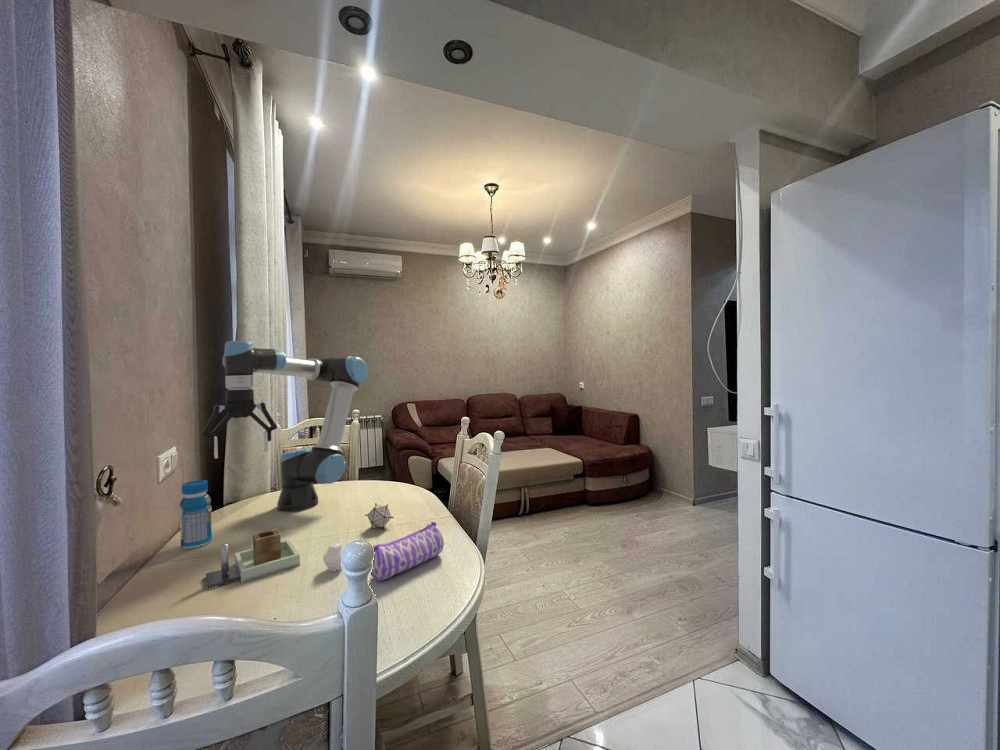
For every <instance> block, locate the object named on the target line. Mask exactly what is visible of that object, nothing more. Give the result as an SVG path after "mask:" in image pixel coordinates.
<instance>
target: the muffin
mask: <svg viewBox="0 0 1000 750" xmlns="http://www.w3.org/2000/svg"><path fill="white" fill-rule="evenodd" d="M342 546H343V545H342V544H341V543H333V544H331V545H329V546H328V547H327V551H326V552H325V553H324V555H323V557H322V560H323V562H324V565H325V566H326V567H327V569H328V571H329V572H337V571H336V570H338V571H340V570H341V569H342V568H341V552H342V550H343V549H344V548H343V547H342Z"/></svg>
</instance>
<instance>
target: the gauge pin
mask: <svg viewBox="0 0 1000 750" xmlns="http://www.w3.org/2000/svg"><path fill="white" fill-rule="evenodd" d="M220 559H221V560H220V563H221V564H220V567H221V569H218V570H214V571H210V572H207V573H205V580H206V587H207V590H210V589H209V588H211V589H213V588H212V587H215V586H218V587H220V586H219V585H221V586H224V585H223V584H225V585H228V584H231V583H235V582H237V580H238V581H241V579H240V573H239V570H238V567H237V565H236V564H235V565H232V566H229V544H228V542H227V543H226V542H224V543H221V544H220ZM234 581H235V582H234ZM227 583H228V584H227ZM215 588H216V587H215Z"/></svg>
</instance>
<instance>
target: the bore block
mask: <svg viewBox="0 0 1000 750" xmlns="http://www.w3.org/2000/svg"><path fill="white" fill-rule="evenodd" d="M281 539H282V538H281V533H280V531H278V529H277V528H273V529H268V530H263V531H261V532H255V533H252V549H253V562H254V564H255V566H256V565H260V564H263V563H267V562H270V561H274V560H278V559H281V541H282V540H281Z"/></svg>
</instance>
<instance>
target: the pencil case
mask: <svg viewBox="0 0 1000 750" xmlns="http://www.w3.org/2000/svg"><path fill="white" fill-rule="evenodd" d="M436 526H437V522H436V521H431V522H430V523H428V524H426V526H423V527H422V528H420V529H419V530H417V531H415V532H412V533H409V534H407V535H405V536H404V537H401V538H399V539H395V540H393V541H390V542H386V543H381V544H379V543H378V544H375V545H372V546H373V548H374V552H375V554H374V560H373V569H372V572H371V574H370V576H371V577H372V579H375V581H377V582H382V581H384V580H387V579H390V578H391V577H392V576H395V575H397V574H401V573H403V572H404V571H407V570H409V569H412V568H414V567H416V566H418V565H420V564H422V563H424V562H426V561H429V560H431V559H432V558H434V557H436V556H439V555H441V553H442V552H443V549H444V545H445V544H444V543H445V542H444V538H443V535H442V532H441V531H440V530H439V529H438V528H437V527H436Z"/></svg>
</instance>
